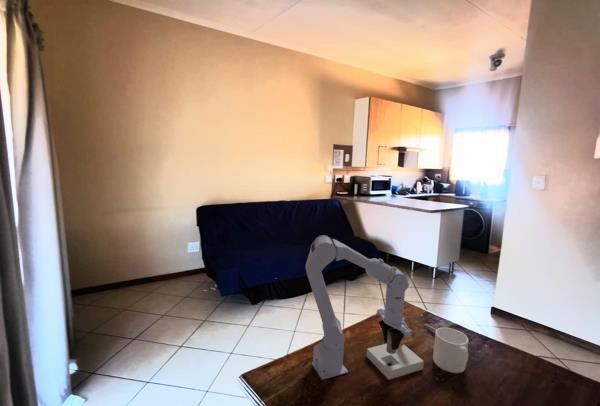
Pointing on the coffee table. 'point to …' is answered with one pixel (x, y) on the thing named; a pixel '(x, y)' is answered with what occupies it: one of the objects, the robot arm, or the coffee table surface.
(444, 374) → the coffee table surface
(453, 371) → the mug
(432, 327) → the caliper
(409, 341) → the latch
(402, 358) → the white flat block
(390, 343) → the peg
